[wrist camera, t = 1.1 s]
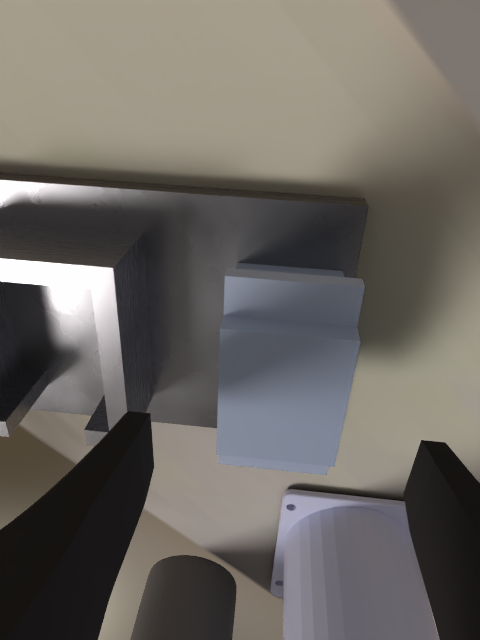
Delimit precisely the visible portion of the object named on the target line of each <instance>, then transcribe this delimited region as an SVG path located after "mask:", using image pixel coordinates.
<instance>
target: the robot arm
mask: <svg viewBox="0 0 480 640" xmlns="http://www.w3.org/2000/svg"><path fill="white" fill-rule="evenodd" d="M153 469H154V459H153V444H152V429H151V414H150V413H142V412H132V411H128V412H127V413H125V414H124V415H123V416H122V417H121V419H120V420H119V421H118V422H117V423H116V424H115V425H114V426H113V428H112V429H111V430H110V431H109V432H108V433H107V434H106V435H105V436H104V437H103V438H102V439H101V440H100V442H99V443H98V444H97V445H96V446H95V447H94V448H93V449H92V450H91V451H90V452H89V453H88V454H87V455H86V456H85V457H84V458H83V459H82V460H81V461H80V462H79V463H78V464H77V465H76V466H75V467H74V468H73V469H72V470H71V471H70V472H69V473H68V474H67V475H66V476H65V477H63V478H62V479H61V480H60V481H59V482H58V483H57V484H56V485H55V486H53V487H52V488H51V489H50V490H49V491H48V492H47V493H46V494H45V495H44V496H42V497H41V498H40V499H39V500H38V501H37V502H35V503H34V504H33V505H32V506H30V507H29V508H28V509H27V510H25V511H24V512H23V513H22V514H20V515H19V516H18V517H17V518H15V519H14V520H13V521H12V522H10V523H9V524H8V525H6V526H5V527H3V528H2V529H1V530H0V640H98V636H99V633H100V629H101V626H102V622H103V619H104V615H105V612H106V608H107V604H108V601H109V598H110V595H111V592H112V590H113V586H114V584H115V581H116V578H117V576H118V573H119V570H120V568H121V565H122V563H123V560H124V557H125V554H126V552H127V549H128V547H129V544H130V542H131V539H132V536H133V534H134V531H135V528H136V526H137V523H138V520H139V517H140V515H141V512H142V510H143V507H144V504H145V501H146V497H147V493H148V489H149V485H150V481H151V477H152V473H153ZM404 499H405V501H397V500H387V499H378V498H369V497H360V496H350V495H341V494H332V493H323V492H313V491H304V490H295V489H289V490H286V491H285V492H284V493H283V497H282V505H281V512H280V519H279V526H278V534H277V541H276V548H275V555H274V563H273V570H272V577H271V584H270V593H271V594H272V595H274V596H276V597H283V640H439V639H440V640H480V483H479V482H478V481H477V480H476V479H475V478H474V476H473V475H472V474H471V473H470V472H469V470H468V469H467V468H466V467H465V466H464V464H463V463H462V462H461V461H460V460H459V458H458V457H457V456H456V455H455V454H454V452H453V451H452V450H451V449H450V448H449V446H448V445H447V444H446V443H444V442H434V441H424V440H421V443H420V446H419V449H418V452H417V455H416V458H415V461H414V464H413V467H412V470H411V473H410V476H409V479H408V482H407V485H406V488H405V491H404ZM427 595H428V596H427ZM428 599H429V600H428ZM429 602H430V603H429ZM430 606H431V607H430ZM431 609H432V611H431ZM432 612H433V615H432ZM433 616H434V619H435V623H436V626H435V623H434V619H433ZM436 627H437V630H436ZM437 631H438V634H437ZM438 635H439V638H438Z"/></svg>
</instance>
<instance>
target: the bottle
mask: <svg viewBox="0 0 480 640" xmlns="http://www.w3.org/2000/svg"><path fill="white" fill-rule="evenodd" d="M235 602H236V583H235V580H234V578H233V576H232V575H231V574H230V572H229V571H227V570H226V569H225V568H224V567H222V566H221V565H219V564H217V563H215V562H213V561H211V560H208V559H205V558H202V557H197V556H189V555H182V556H181V555H179V556H172V557H168V558H165V559H162V560H161V561H159V562H157V563H156V564H155V565H154V566H153V567H152V569H151V571H150V573H149V576H148V579H147V583H146V586H145V590H144V593H143V596H142V600H141V603H140V607H139V610H138V614H137V618H136V622H135V625H134V629H133V632H132V636H131V640H232V633H233V624H234V613H235Z"/></svg>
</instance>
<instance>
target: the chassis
mask: <svg viewBox="0 0 480 640" xmlns="http://www.w3.org/2000/svg"><path fill="white" fill-rule="evenodd" d="M367 211H368V205H367V203H366V201H365V199H358V198H344V197H330V196H316V195H301V194H287V193H273V192H259V191H245V190H231V189H217V188H202V187H188V186H174V185H160V184H146V183H132V182H118V181H104V180H89V179H75V178H61V177H47V176H33V175H19V174H5V173H0V436H6V437H10V435H11V434H12V433H13V431H14V430H15V429H16V427H17V426H18V425H19V423H20V422H21V421H22V419H23V418H24V417H25V415H26V414H27V413H28V411H29V410H30V409H34V410H44V411H53V412H63V413H73V414H83V415H92V417H91V419H90V421H89V422H88V424H87V426H86V428H85V430H84V432H85V438H86V444H87V445H91V446H96V445H97V444H98V443H99V442H100V440H101V439H102V438H103V437H104V436H105V435H106V434H107V433H108V432H109V431H110V430H111V429H112V428H113V426H114V425H115V424H116V423H117V422H118V421H119V420H120V419H121V417H122V416H123V415H124V414H125V413H127V412H128V411H132V412H142V413H150V414H151V421H152V422H162V423H172V424H182V425H191V426H201V427H211V428H217V414H218V381H219V347H220V327H221V323H222V319H223V315H224V286H225V274H226V270H227V268H235V269H236V265H237V263H248V264H260V265H273V266H285V267H298V268H310V269H323V270H335V271H343V274H344V277H347V278H355V275H356V270H357V264H358V259H359V254H360V248H361V243H362V238H363V232H364V227H365V222H366V216H367Z"/></svg>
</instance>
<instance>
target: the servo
mask: <svg viewBox="0 0 480 640" xmlns="http://www.w3.org/2000/svg"><path fill="white" fill-rule="evenodd" d="M364 290H365V286H364V283H363V280H362V279H359V278H347V277H344V274H343V271H335V270H323V269H310V268H298V267H285V266H273V265H260V264H248V263H237V265H236V269H235V268H227V270H226V274H225V286H224V315H223V319H222V323H221V327H220V347H219V381H218V414H217V448H216V455H219V464H225V465H234V466H244V467H253V468H263V469H272V470H282V471H291V472H300V473H310V474H319V475H327V473H328V468H329V466H330V467H334V466H335V461H336V457H337V452H338V447H339V442H340V438H341V433H342V428H343V423H344V419H345V414H346V409H347V404H348V400H349V395H350V390H351V385H352V381H353V376H354V371H355V366H356V362H357V357H358V352H359V347H360V343H361V340H360V336H359V332H358V328H357V325H358V320H359V315H360V310H361V305H362V300H363V295H364Z"/></svg>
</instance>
